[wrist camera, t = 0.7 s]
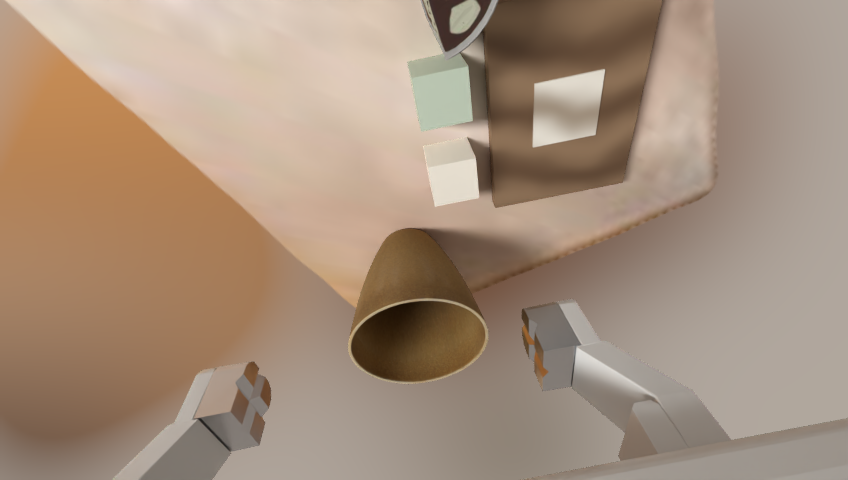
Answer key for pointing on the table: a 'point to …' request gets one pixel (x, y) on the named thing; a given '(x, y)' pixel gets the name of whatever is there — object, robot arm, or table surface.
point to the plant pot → (415, 314)
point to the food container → (457, 22)
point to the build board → (564, 93)
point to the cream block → (451, 171)
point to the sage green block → (441, 91)
